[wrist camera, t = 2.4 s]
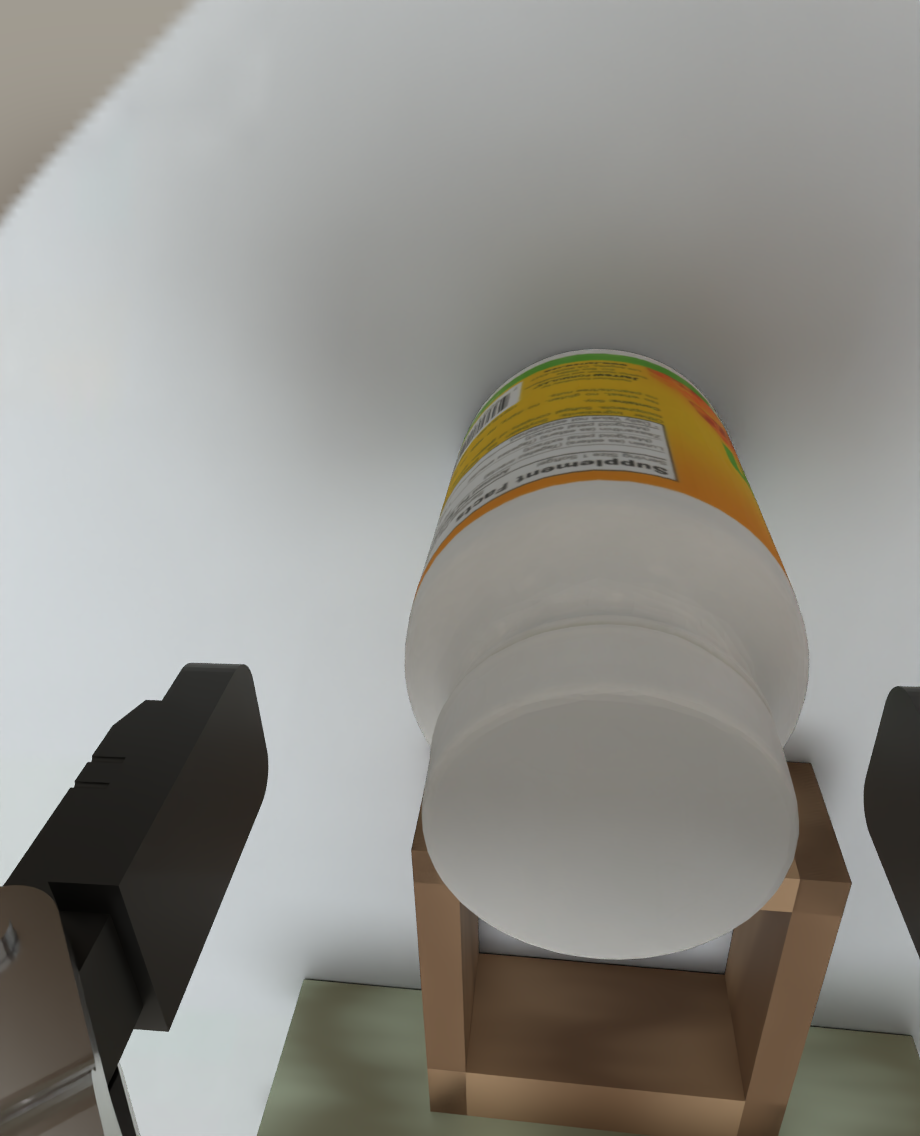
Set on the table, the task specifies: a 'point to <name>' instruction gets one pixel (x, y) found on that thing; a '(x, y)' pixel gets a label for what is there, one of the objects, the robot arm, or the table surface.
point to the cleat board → (601, 1033)
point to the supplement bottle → (606, 667)
